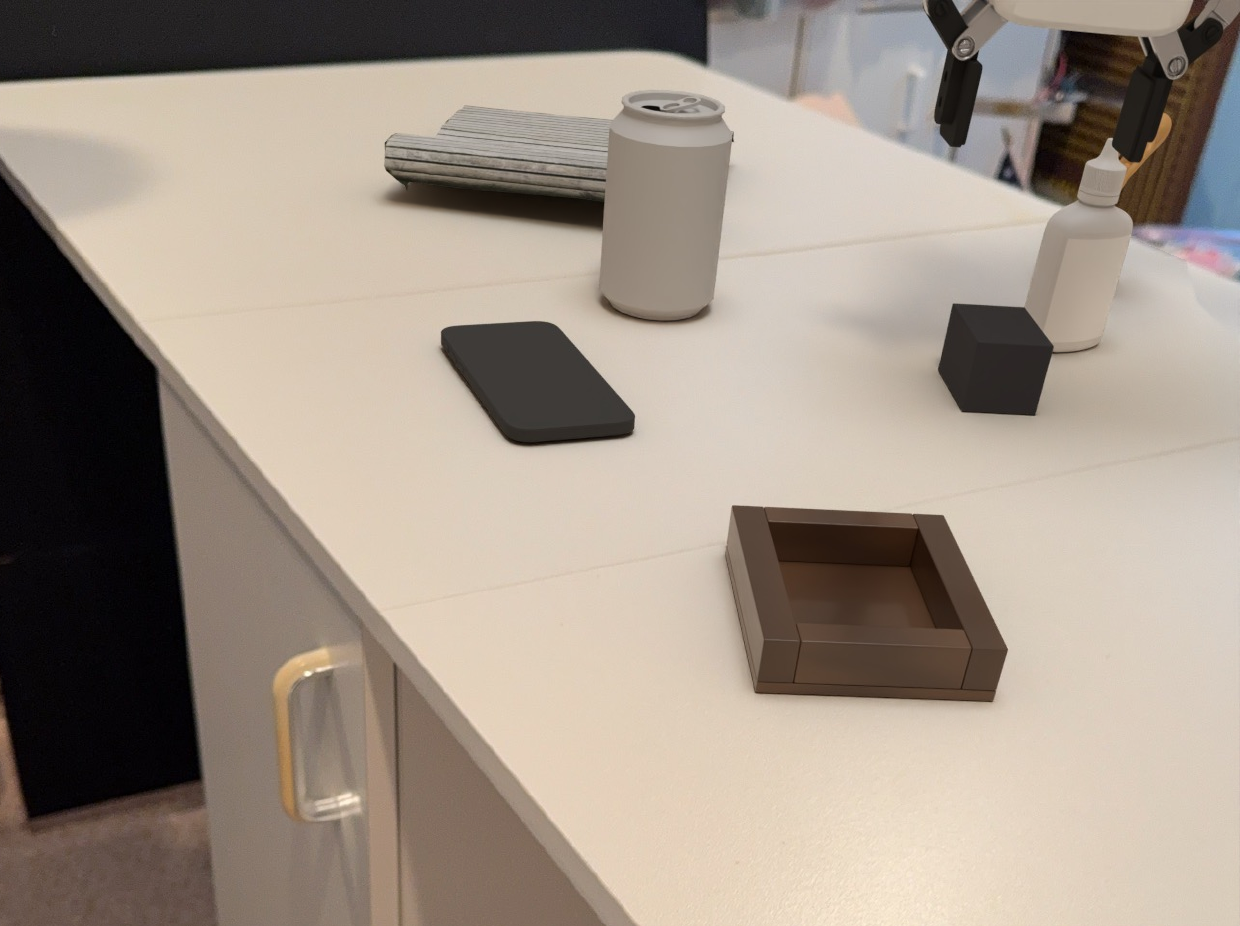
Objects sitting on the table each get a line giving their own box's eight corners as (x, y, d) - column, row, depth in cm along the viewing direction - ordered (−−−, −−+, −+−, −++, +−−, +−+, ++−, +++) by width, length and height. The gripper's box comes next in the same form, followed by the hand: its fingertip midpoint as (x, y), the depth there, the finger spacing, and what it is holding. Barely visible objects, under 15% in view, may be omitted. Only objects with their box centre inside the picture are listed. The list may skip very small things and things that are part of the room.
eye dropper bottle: (1107, 359, 92) (1169, 153, 84) (1019, 351, 92) (1072, 144, 84) (1095, 335, 95) (1153, 135, 87) (1009, 327, 95) (1060, 126, 87)
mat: (732, 164, 121) (740, 102, 118) (692, 247, 104) (699, 177, 101) (465, 131, 124) (466, 69, 121) (381, 206, 106) (380, 136, 103)
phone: (510, 431, 75) (434, 326, 85) (509, 447, 75) (434, 340, 86) (643, 421, 77) (553, 319, 88) (641, 436, 78) (552, 333, 88)
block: (937, 369, 88) (952, 302, 86) (1007, 373, 89) (1024, 307, 86) (961, 411, 83) (978, 342, 81) (1035, 415, 84) (1054, 346, 81)
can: (580, 289, 95) (591, 85, 87) (682, 281, 98) (702, 82, 90) (626, 329, 90) (643, 116, 82) (732, 320, 92) (758, 112, 85)
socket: (932, 563, 69) (944, 514, 67) (993, 701, 60) (1009, 649, 58) (724, 554, 68) (731, 504, 67) (755, 692, 59) (764, 639, 57)
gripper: (981, -276, 63) (894, 154, 74) (1359, -233, 64) (1218, 181, 75) (943, -283, 68) (868, 117, 79) (1292, -244, 70) (1169, 143, 81)
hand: (1038, 148), depth 77 cm, fingers open, 9 cm apart
